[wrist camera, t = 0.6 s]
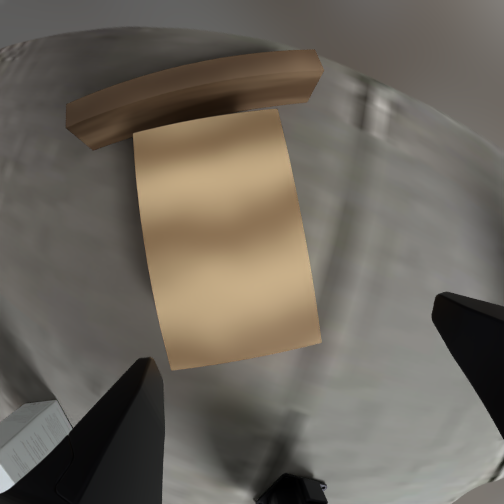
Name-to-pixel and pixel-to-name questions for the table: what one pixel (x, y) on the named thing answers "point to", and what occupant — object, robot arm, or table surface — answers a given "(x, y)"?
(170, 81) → the walnut board
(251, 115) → the oak block
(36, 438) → the small box
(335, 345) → the table surface
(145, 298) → the table surface
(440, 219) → the table surface
